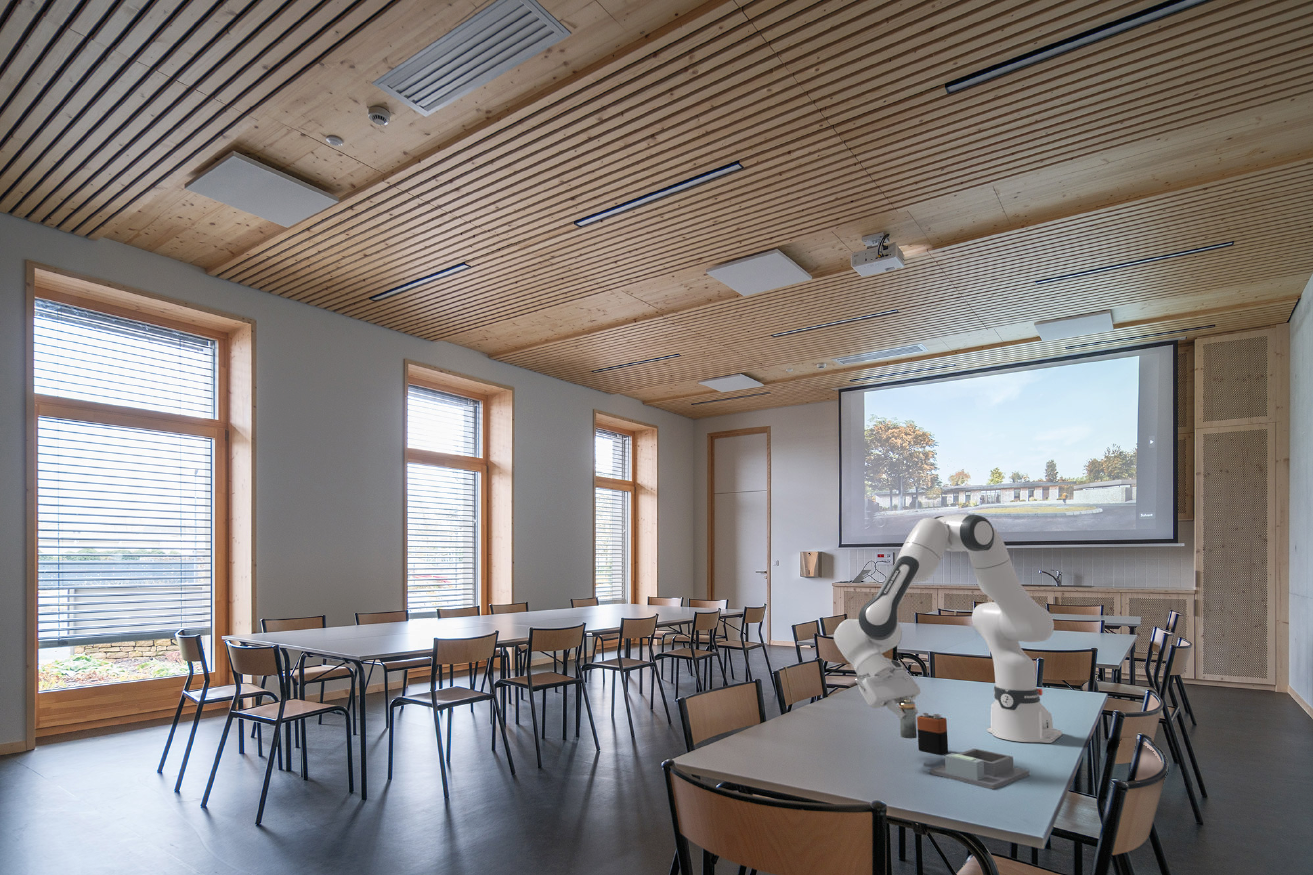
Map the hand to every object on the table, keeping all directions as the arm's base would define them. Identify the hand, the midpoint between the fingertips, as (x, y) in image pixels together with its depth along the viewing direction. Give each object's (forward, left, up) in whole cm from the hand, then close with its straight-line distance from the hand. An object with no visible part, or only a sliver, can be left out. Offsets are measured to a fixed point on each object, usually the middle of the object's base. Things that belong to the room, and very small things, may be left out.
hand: (909, 715), depth 198 cm
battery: (-15, -3, -12) cm, 19 cm away
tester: (-4, +16, -12) cm, 20 cm away
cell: (0, -1, -5) cm, 5 cm away
